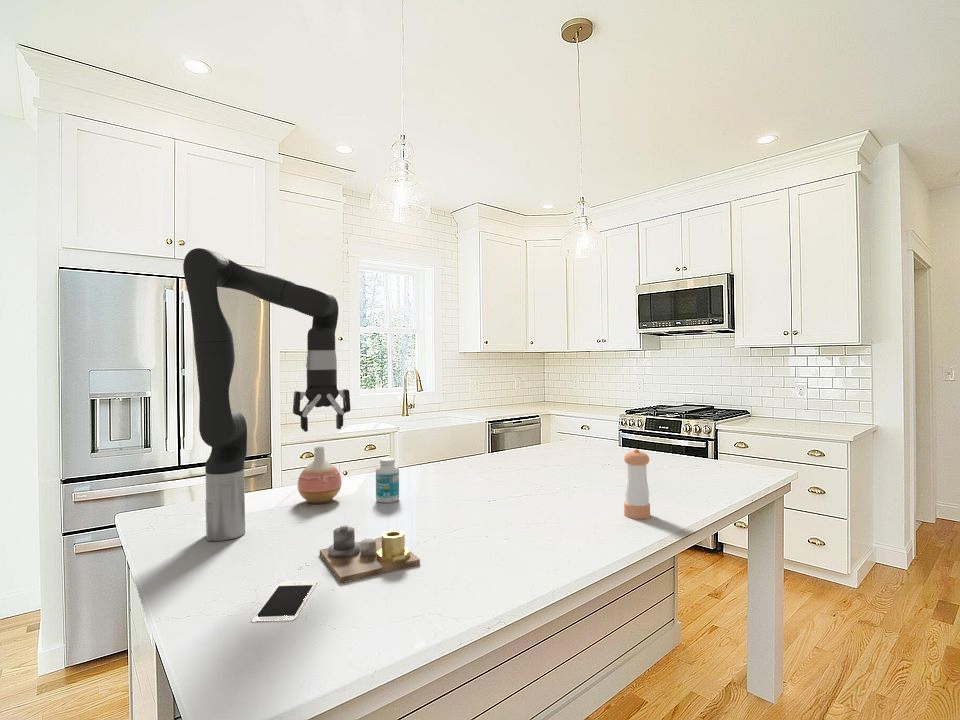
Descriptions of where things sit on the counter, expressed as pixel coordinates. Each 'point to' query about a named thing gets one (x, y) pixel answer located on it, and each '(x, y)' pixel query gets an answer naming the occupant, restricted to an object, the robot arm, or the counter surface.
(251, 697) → the counter surface
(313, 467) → the vase
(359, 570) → the board
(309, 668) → the counter surface
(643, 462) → the salt shaker
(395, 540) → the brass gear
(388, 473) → the pill bottle
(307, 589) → the cell phone
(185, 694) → the counter surface
